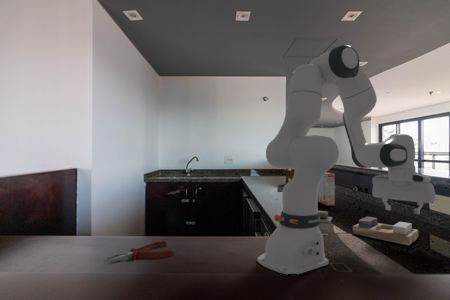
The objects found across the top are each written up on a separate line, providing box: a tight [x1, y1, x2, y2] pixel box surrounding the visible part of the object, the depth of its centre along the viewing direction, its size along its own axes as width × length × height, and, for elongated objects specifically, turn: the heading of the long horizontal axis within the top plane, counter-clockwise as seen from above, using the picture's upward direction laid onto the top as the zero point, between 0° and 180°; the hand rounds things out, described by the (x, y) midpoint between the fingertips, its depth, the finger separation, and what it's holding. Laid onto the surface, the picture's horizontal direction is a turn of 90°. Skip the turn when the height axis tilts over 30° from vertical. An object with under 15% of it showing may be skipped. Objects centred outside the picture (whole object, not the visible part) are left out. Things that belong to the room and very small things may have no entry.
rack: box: [352, 216, 419, 246], centre depth 104 cm, size 13×20×6 cm
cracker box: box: [318, 171, 336, 207], centre depth 172 cm, size 14×6×21 cm, turn 1°
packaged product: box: [318, 210, 333, 224], centre depth 132 cm, size 18×5×10 cm
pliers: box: [106, 240, 175, 263], centre depth 85 cm, size 12×20×3 cm, turn 119°
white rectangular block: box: [393, 221, 413, 236], centre depth 99 cm, size 9×4×4 cm, turn 132°
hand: (402, 211), depth 99 cm, fingers open, 8 cm apart
